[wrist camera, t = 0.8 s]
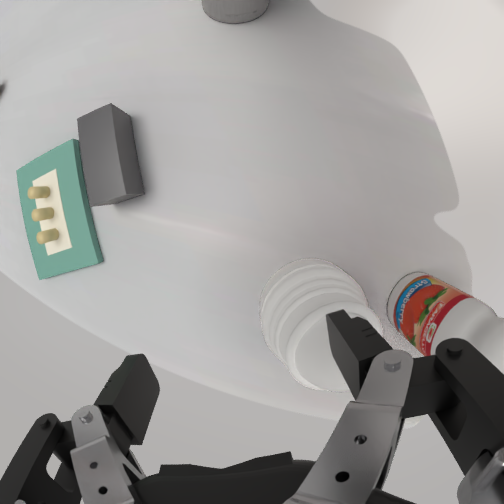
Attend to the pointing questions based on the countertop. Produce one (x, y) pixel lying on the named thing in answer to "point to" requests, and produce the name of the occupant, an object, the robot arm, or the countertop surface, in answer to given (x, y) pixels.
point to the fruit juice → (444, 317)
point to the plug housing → (109, 156)
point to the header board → (58, 212)
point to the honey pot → (310, 319)
